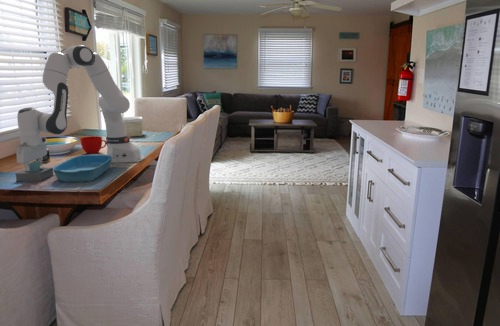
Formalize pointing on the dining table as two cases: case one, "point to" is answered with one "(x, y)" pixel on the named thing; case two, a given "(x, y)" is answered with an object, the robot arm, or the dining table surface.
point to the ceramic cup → (92, 144)
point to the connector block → (34, 166)
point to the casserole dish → (82, 167)
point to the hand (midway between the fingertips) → (34, 168)
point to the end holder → (34, 175)
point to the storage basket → (133, 126)
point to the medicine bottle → (45, 157)
